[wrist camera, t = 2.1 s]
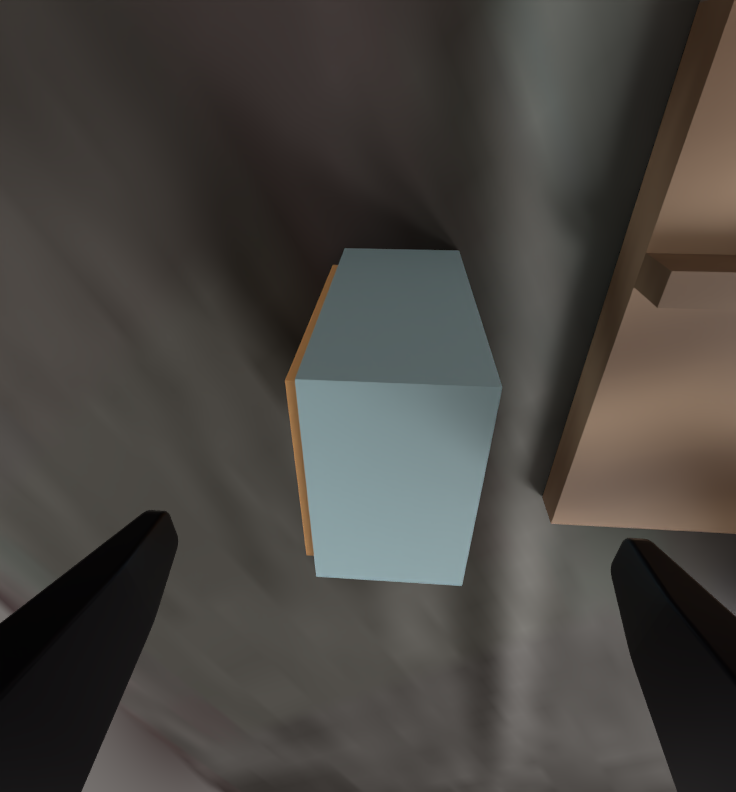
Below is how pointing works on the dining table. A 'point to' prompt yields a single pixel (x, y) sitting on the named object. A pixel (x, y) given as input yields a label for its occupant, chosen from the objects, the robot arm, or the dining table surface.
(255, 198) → the dining table surface
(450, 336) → the carton
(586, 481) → the shelf
